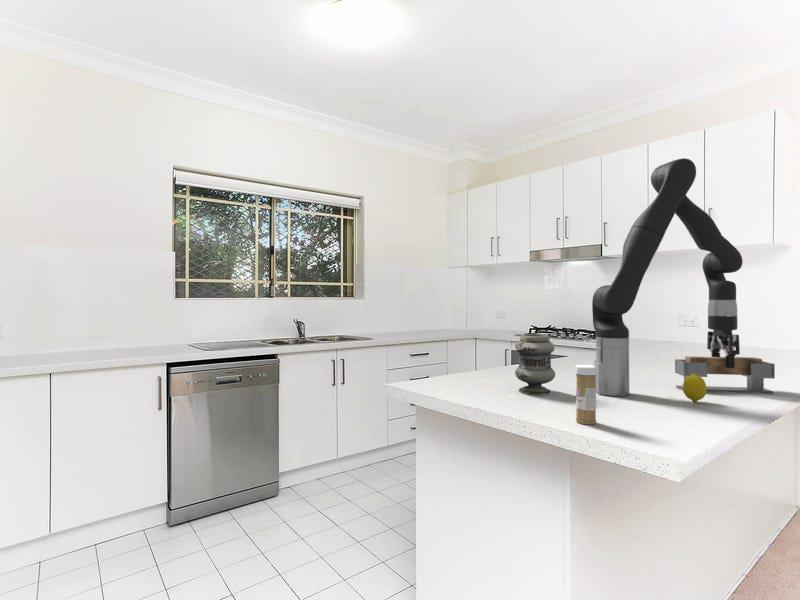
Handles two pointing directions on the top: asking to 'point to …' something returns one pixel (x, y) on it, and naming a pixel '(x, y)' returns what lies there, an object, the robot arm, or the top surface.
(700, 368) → the bracket stand
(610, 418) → the top surface
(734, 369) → the rail
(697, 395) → the lemon
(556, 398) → the top surface
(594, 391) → the sprinkles bottle
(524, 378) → the apothecary jar
